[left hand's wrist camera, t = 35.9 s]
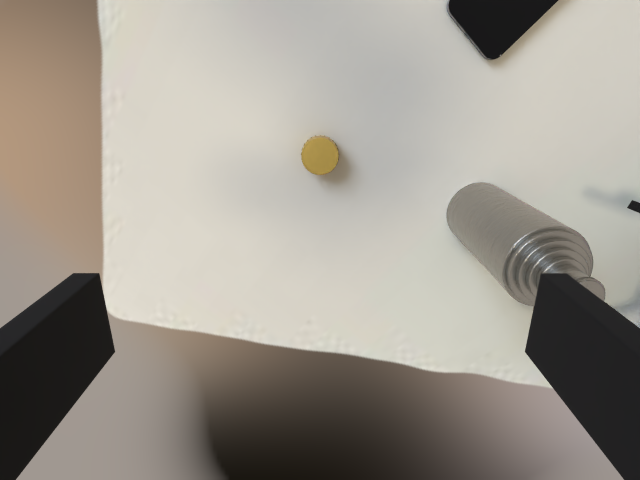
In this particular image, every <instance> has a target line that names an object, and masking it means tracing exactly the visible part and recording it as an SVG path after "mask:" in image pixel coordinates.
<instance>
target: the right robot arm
mask: <svg viewBox="0 0 640 480" xmlns="http://www.w3.org/2000/svg"><path fill="white" fill-rule="evenodd" d="M627 208H629V209H631V210H634V211H636V212H639V213H640V203H638V202H636V201H633V200H632V201H631V203H630V204H629V206H628V207H627Z"/></svg>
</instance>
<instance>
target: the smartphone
mask: <svg viewBox="0 0 640 480" xmlns="http://www.w3.org/2000/svg"><path fill="white" fill-rule="evenodd" d="M557 1H558V0H449V1H448V4H447V10H448V13H449V15H450V16H451V17H452V18H453V20H454V21H455V22H456V23H457V25H458V26H459V27H460V28H461V30H462V31H463V32H464V33H465V34H466V36H467V37H468V38H469V39H470V41H471V42H472V43H473V44H474V46H475V47H476V48H477V49H478V50H479V52H480V53H481V54H482V55H483V56H484V57H485V58H486V59H496V58H498V57H500V56H501V55H502V54H503V53H504V52H505V51H506V50H507V49H508V48H509V47H510V46H511V45H512V44H513V43H515V42H516V41H517V40H518V39H519V38H520V37H521V36H522V35H523V34H524V33H525V32H526V31H527V30H528V29H529V28H530V27H531V26H532V25H533V24H534V23H535V22H536V21H537V20H538V19H539V18H540V17H541V16H543V15H544V14H545V13H546V12H547V11H548V10H549V9H550V8H551V7H552V6H553V5H554V4H555V3H556V2H557Z"/></svg>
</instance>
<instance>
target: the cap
mask: <svg viewBox="0 0 640 480" xmlns="http://www.w3.org/2000/svg"><path fill="white" fill-rule="evenodd" d="M301 155H302V162H303V164H304V166H305V168H306V169H307V170H308V171H309V172H311V173H313V174H317V175H323V174H327V173H329V172H331V171H332V170H333V169H334V168H335V166H336V165H337V162H338V160H339V159H338V155H339V153H338V148H337V147H336V144H335V143H334V142H333V140H331V139H330V138H328V137H325V136H321V135H320V136H314V137H311V138H310V139H309V140H307V142H306V143H305V144H304V147H303V148H302V153H301Z"/></svg>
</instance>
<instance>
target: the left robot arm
mask: <svg viewBox="0 0 640 480" xmlns="http://www.w3.org/2000/svg"><path fill="white" fill-rule="evenodd" d="M114 352H115V349H114V345H113V339H112V334H111V330H110V325H109V320H108V315H107V310H106V305H105V300H104V295H103V290H102V285H101V280H100V275H99V273H73V274H72V275H71V276H69V277H68V278H67V279H65V280H64V281H63V282H61V283H60V284H59V285H57V286H56V287H55V288H53V289H52V290H51V291H49V292H48V293H47V294H45V295H44V296H43V297H41V298H40V299H39V300H37V301H36V302H35V303H33V304H32V305H31V306H29V307H28V308H27V309H25V310H24V311H23V312H21V313H20V314H19V315H17V316H16V317H15V318H13V319H12V320H11V321H9V322H8V323H7V324H5V325H4V326H3V327H1V328H0V480H16V479H17V477H18V476H19V475H20V473H21V472H22V471H23V470H24V468H25V467H26V466H27V464H28V463H29V462H30V461H31V459H32V458H33V457H34V455H35V454H36V453H37V452H38V450H39V449H40V448H41V446H42V445H43V444H44V443H45V441H46V440H47V439H48V437H49V436H50V435H51V434H52V432H53V431H54V430H55V428H56V427H57V426H58V425H59V423H60V422H61V421H62V419H63V418H64V417H65V416H66V414H67V413H68V412H69V410H70V409H71V408H72V407H73V405H74V404H75V403H76V401H77V400H78V399H79V398H80V396H81V395H82V394H83V392H84V391H85V390H86V388H87V387H88V386H89V385H90V383H91V382H92V381H93V379H94V378H95V377H96V376H97V374H98V373H99V372H100V370H101V369H102V368H103V367H104V365H105V364H106V363H107V361H108V360H109V359H110V358H111V356H112V355H113V354H114ZM525 352H526V354H527V355H528V356H529V358H530V359H531V360H532V361H533V363H534V364H535V365H536V367H537V368H538V369H539V370H540V372H541V373H542V374H543V376H544V377H545V378H546V379H547V381H548V382H549V383H550V385H551V386H552V387H553V388H554V390H555V391H556V392H557V394H558V395H559V396H560V397H561V399H562V400H563V401H564V403H565V404H566V405H567V407H568V408H569V409H570V410H571V412H572V413H573V414H574V415H575V417H576V418H577V419H578V421H579V422H580V423H581V425H582V426H583V427H584V428H585V430H586V431H587V432H588V434H589V435H590V436H591V437H592V439H593V440H594V441H595V443H596V444H597V445H598V446H599V448H600V449H601V450H602V452H603V453H604V454H605V455H606V457H607V458H608V459H609V461H610V462H611V463H612V464H613V466H614V467H615V468H616V470H617V471H618V472H619V473H620V475H621V476H622V477H623V479H624V480H640V328H639V327H637V326H636V325H635V324H633V323H632V322H631V321H629V320H628V319H627V318H625V317H624V316H623V315H621V314H620V313H619V312H617V311H616V310H615V309H613V308H612V307H611V306H609V305H608V304H607V303H605V302H604V301H603V300H601V299H600V298H599V297H597V296H596V295H595V294H593V293H592V292H591V291H589V290H588V289H587V288H585V287H584V286H583V285H581V284H580V283H579V282H577V281H576V280H575V279H573V278H572V277H571V276H569V275H568V274H567V273H541V275H540V280H539V285H538V290H537V295H536V300H535V305H534V310H533V315H532V320H531V325H530V330H529V334H528V339H527V344H526V349H525Z"/></svg>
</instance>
